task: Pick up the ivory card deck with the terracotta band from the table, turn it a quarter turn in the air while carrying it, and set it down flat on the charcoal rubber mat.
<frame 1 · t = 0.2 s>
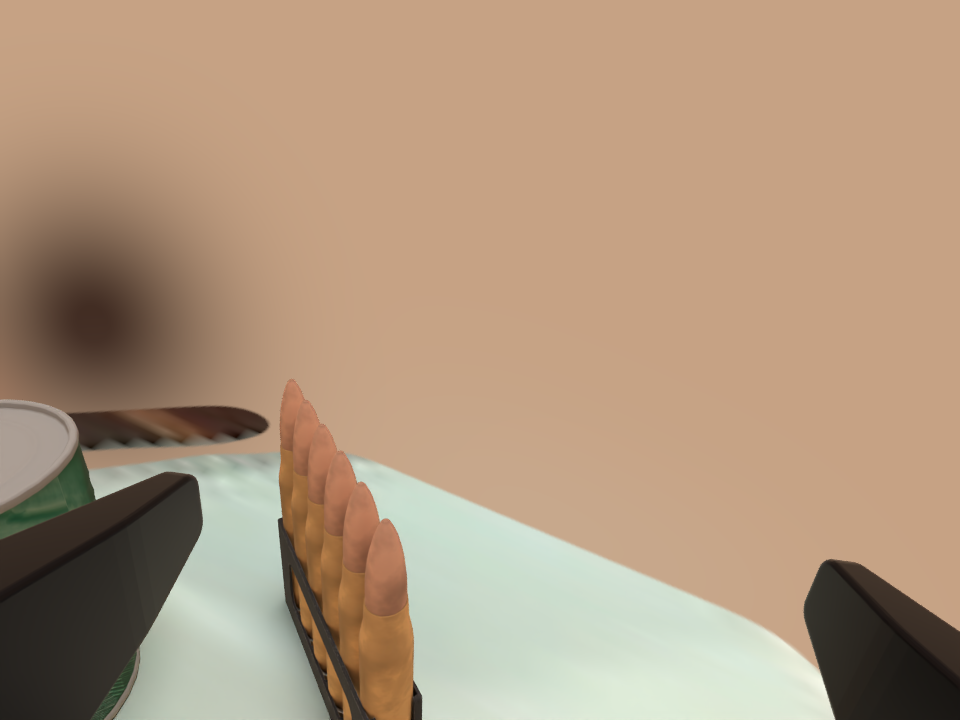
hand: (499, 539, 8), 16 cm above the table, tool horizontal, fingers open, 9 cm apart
canned tomato: (23, 699, 22), on the table
ammunition clip: (343, 686, 23), on the table
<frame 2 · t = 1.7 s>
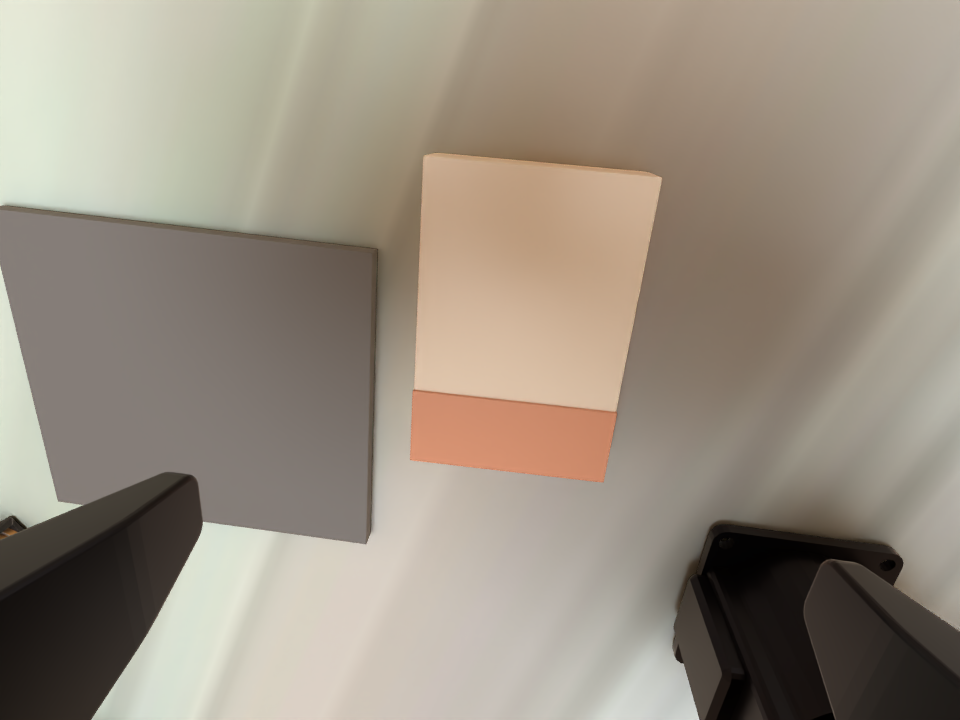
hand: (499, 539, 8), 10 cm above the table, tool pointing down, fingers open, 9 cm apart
card mat: (204, 385, 20), on the table
card deck: (523, 309, 18), on the table
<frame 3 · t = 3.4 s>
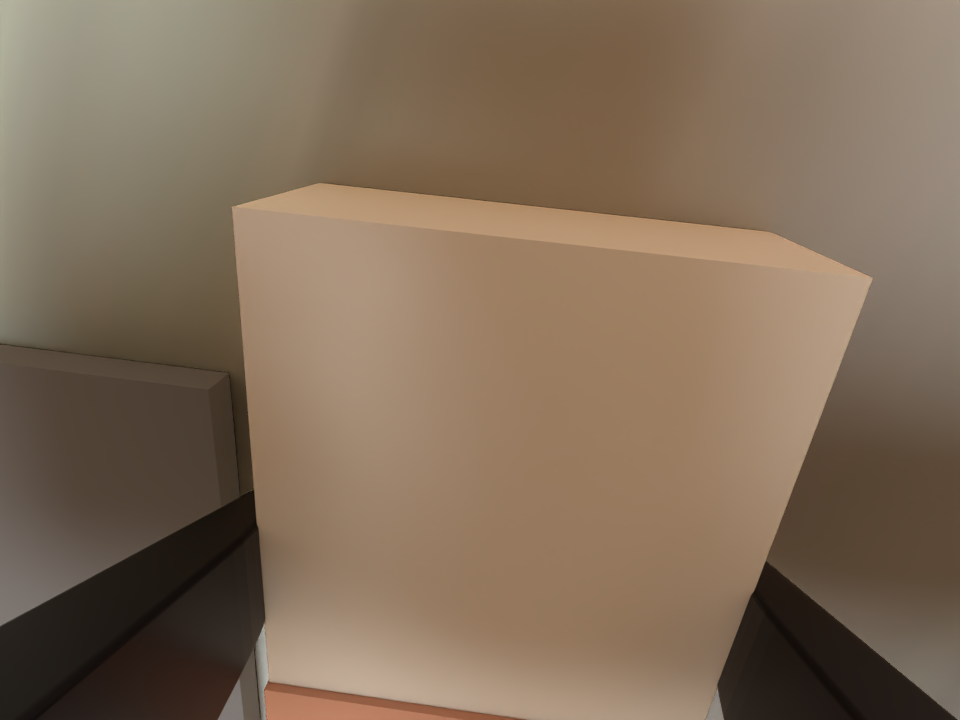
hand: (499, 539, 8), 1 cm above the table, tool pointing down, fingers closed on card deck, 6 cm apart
card deck: (503, 486, 9), on the table, touching gripper
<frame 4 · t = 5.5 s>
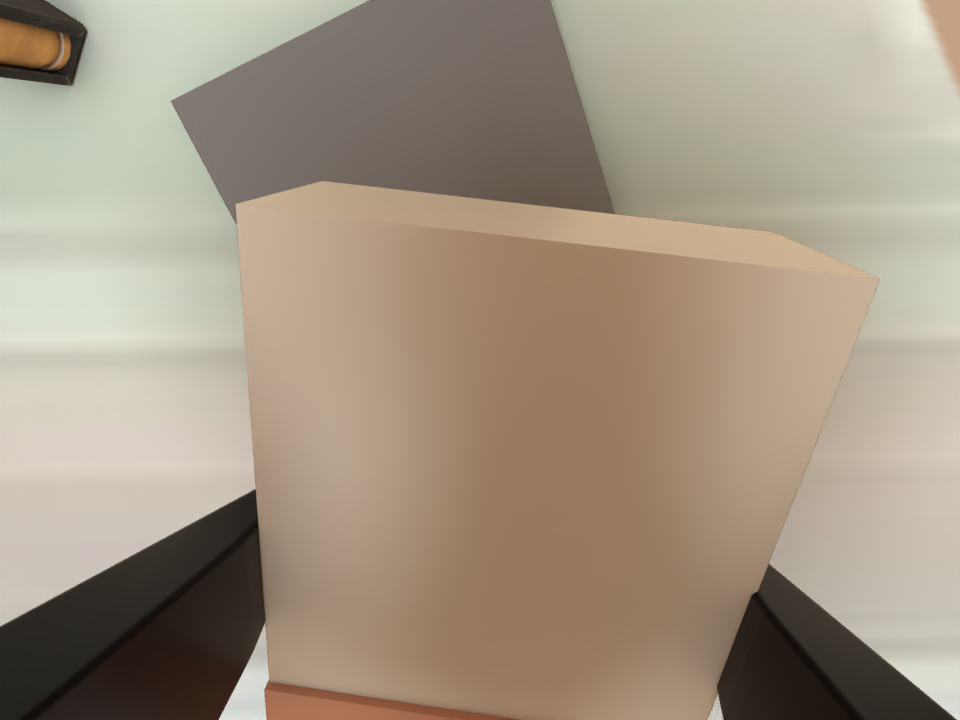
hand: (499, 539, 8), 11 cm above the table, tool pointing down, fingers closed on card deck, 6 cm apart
card mat: (426, 224, 18), on the table
card deck: (505, 487, 9), point 10 cm above the table, touching gripper
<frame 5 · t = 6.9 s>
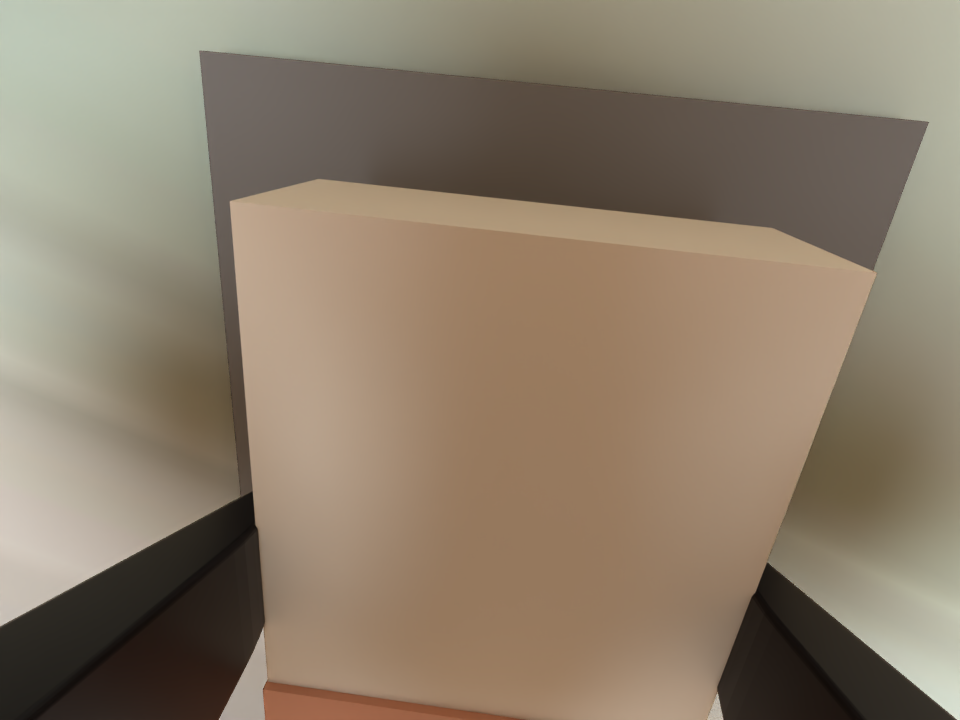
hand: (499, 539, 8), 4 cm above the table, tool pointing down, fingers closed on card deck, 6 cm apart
card mat: (510, 415, 11), on the table
card deck: (503, 485, 9), point 2 cm above the table, touching gripper
when the fingers open (3 cm above the table, at t = 7.9 s): card deck stays where it is, resting on card mat.
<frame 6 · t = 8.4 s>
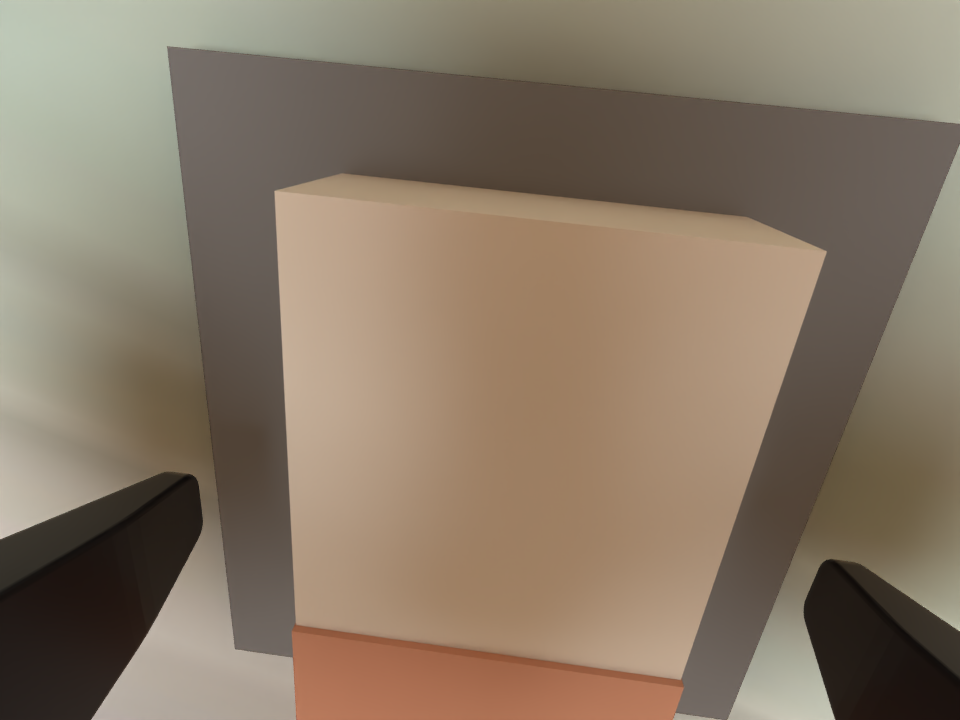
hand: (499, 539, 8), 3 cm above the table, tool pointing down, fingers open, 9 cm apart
card mat: (507, 437, 11), on the table
card deck: (507, 453, 10), point 1 cm above the table, touching card mat
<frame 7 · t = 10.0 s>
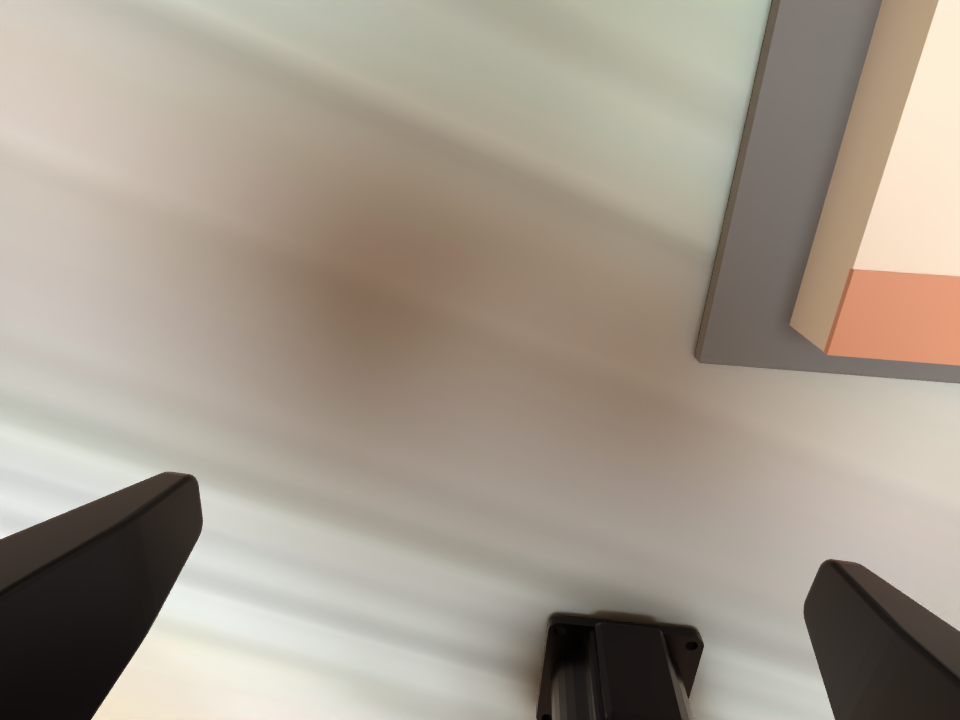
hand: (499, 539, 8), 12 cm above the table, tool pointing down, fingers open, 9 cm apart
card mat: (926, 182, 16), on the table
card deck: (940, 183, 16), point 1 cm above the table, touching card mat
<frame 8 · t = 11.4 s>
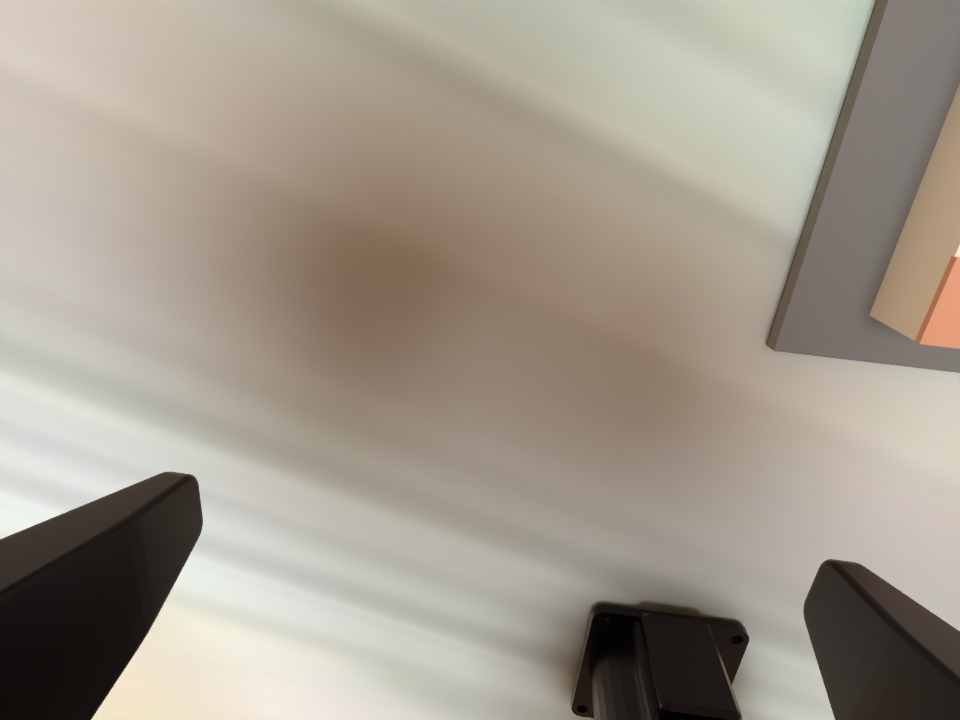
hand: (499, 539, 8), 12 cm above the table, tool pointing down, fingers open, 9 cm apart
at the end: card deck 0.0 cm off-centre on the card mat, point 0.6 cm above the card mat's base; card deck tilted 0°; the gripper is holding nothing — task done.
